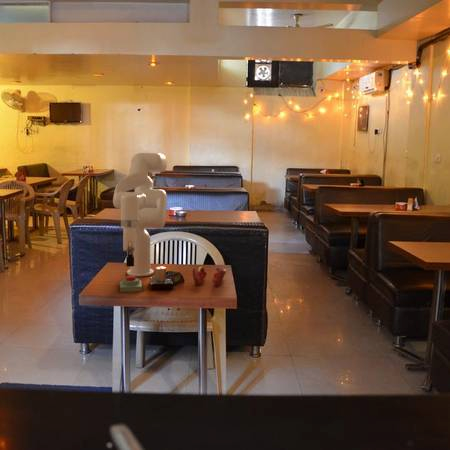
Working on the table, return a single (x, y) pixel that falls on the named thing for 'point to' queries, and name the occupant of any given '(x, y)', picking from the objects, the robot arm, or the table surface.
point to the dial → (160, 273)
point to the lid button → (130, 278)
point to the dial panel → (160, 284)
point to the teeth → (201, 274)
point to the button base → (130, 285)
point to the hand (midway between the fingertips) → (130, 265)
